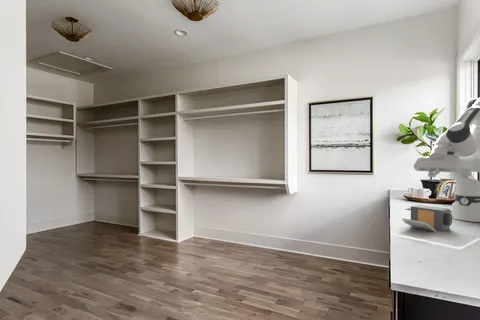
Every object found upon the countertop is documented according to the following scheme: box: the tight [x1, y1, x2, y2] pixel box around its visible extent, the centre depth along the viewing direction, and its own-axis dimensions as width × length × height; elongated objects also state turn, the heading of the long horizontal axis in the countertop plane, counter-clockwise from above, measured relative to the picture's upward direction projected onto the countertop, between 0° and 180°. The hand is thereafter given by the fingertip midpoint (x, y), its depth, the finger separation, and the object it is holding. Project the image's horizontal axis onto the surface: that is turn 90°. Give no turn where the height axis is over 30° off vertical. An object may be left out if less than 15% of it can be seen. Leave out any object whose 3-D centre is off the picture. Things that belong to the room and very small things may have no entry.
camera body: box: [410, 204, 453, 233], centre depth 143 cm, size 9×16×11 cm, turn 36°
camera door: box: [401, 218, 438, 233], centre depth 137 cm, size 2×10×14 cm
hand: (431, 176), depth 147 cm, fingers closed
